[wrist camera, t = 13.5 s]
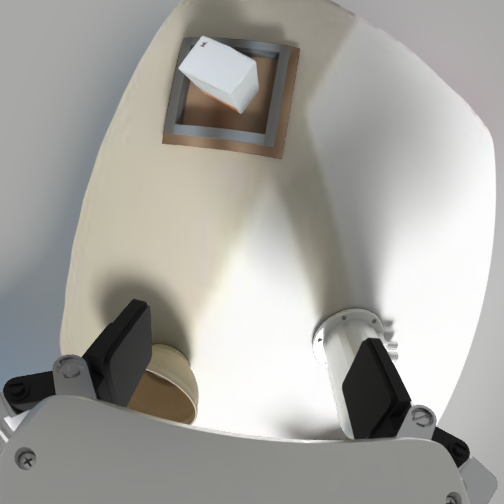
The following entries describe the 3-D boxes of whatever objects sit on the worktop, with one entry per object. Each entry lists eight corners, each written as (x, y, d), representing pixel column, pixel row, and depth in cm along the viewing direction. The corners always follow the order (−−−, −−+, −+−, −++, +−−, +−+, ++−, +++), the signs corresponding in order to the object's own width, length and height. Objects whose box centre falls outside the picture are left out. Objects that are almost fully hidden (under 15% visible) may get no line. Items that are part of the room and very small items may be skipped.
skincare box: (203, 94, 31) (175, 67, 20) (221, 69, 30) (201, 32, 19) (242, 116, 32) (230, 96, 21) (261, 90, 31) (258, 59, 20)
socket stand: (298, 52, 30) (302, 40, 26) (281, 158, 35) (282, 158, 31) (185, 41, 30) (176, 30, 26) (165, 143, 35) (153, 142, 31)
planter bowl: (225, 365, 47) (217, 410, 37) (178, 400, 51) (165, 439, 41) (153, 311, 44) (127, 349, 34) (116, 355, 48) (93, 391, 38)
